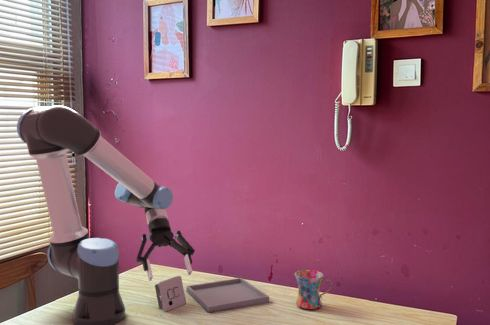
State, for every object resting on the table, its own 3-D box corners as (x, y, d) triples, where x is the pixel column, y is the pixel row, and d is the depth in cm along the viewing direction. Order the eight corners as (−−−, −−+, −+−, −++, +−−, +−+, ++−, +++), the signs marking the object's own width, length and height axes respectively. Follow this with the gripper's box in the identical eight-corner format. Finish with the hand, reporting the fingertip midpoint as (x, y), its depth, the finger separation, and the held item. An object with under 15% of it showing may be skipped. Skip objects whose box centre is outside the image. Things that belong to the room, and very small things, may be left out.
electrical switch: (165, 312, 141) (163, 283, 141) (154, 310, 145) (152, 281, 145) (186, 304, 149) (184, 276, 149) (176, 302, 152) (174, 274, 152)
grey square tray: (208, 313, 141) (208, 307, 141) (186, 291, 160) (186, 285, 160) (269, 302, 150) (269, 296, 150) (241, 282, 170) (241, 277, 169)
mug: (293, 310, 143) (293, 277, 143) (295, 300, 153) (295, 269, 152) (331, 313, 141) (332, 280, 140) (331, 302, 150) (332, 271, 150)
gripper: (188, 225, 171) (203, 276, 159) (121, 231, 159) (131, 286, 147) (193, 214, 166) (208, 265, 153) (124, 219, 154) (135, 275, 142)
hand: (171, 276), depth 150 cm, fingers open, 13 cm apart
